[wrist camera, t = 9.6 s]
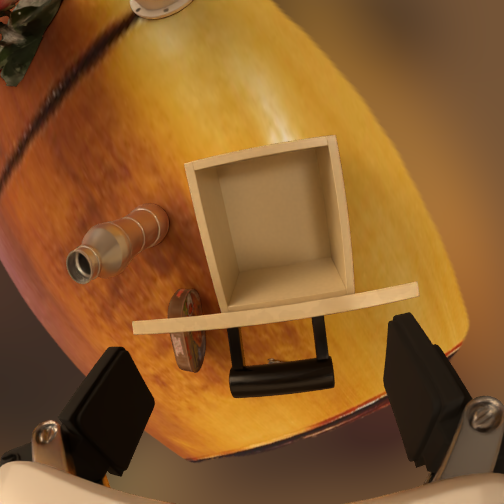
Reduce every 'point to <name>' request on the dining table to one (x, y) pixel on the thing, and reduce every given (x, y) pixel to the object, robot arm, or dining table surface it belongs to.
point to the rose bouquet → (22, 34)
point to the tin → (187, 343)
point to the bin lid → (285, 373)
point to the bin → (274, 223)
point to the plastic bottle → (117, 243)
